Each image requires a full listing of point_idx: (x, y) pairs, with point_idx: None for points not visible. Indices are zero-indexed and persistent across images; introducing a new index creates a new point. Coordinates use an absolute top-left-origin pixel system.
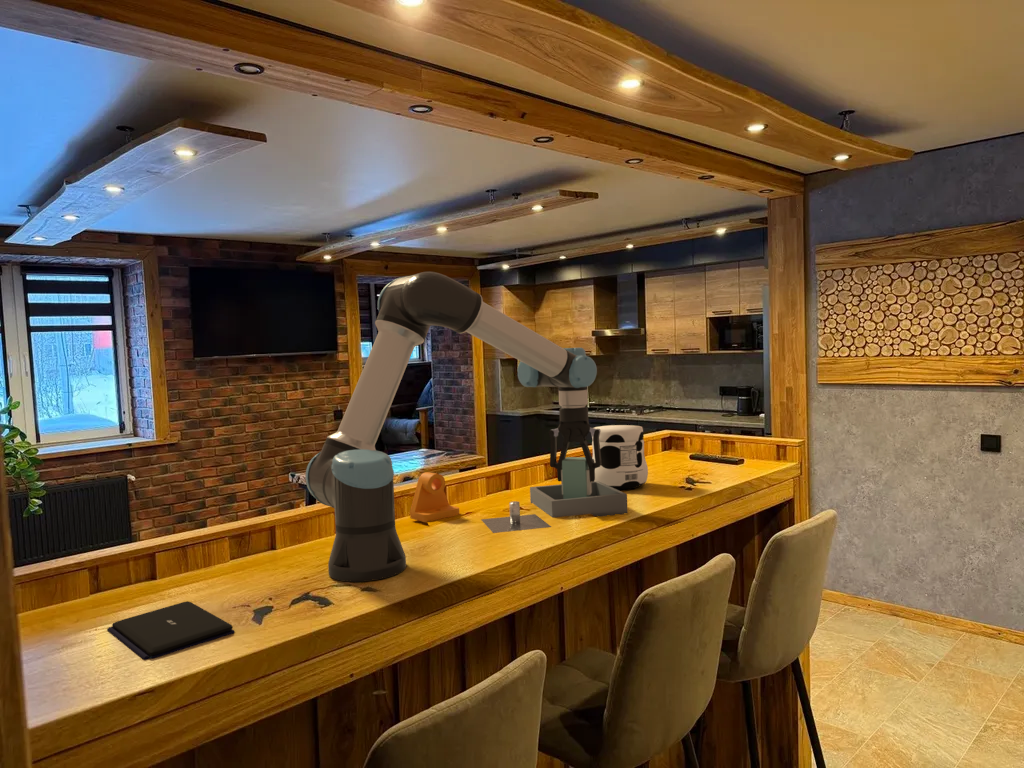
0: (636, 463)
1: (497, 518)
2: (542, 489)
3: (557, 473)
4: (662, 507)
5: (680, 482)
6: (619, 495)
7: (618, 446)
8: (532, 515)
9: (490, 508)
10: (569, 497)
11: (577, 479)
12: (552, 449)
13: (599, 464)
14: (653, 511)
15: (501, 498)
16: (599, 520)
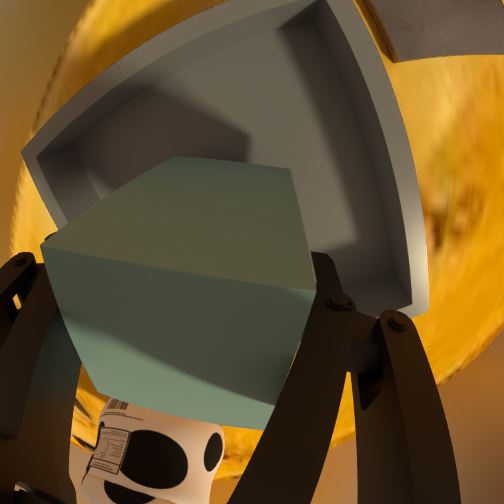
0: (101, 430)
1: (495, 45)
2: (381, 307)
3: (339, 285)
4: (20, 223)
5: (83, 401)
6: (37, 134)
7: (120, 475)
8: (406, 43)
9: (501, 237)
10: (257, 165)
11: (182, 185)
12: (434, 454)
13: (11, 261)
14: (23, 177)
15: (449, 342)
16: (139, 29)
